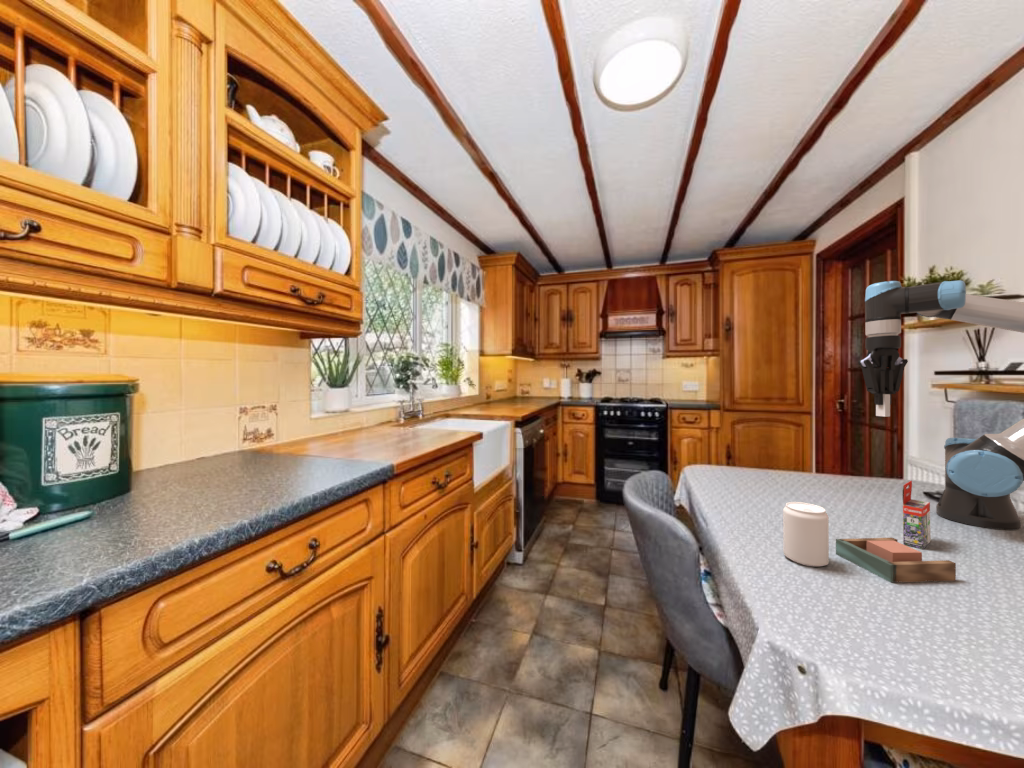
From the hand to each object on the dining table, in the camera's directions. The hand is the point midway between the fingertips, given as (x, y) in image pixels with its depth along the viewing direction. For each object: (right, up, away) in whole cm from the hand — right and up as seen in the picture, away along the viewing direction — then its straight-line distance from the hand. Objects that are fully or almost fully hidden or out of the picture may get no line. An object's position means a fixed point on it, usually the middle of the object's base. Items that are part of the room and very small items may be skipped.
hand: (882, 416), depth 112 cm
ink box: (-9, -30, -18) cm, 36 cm away
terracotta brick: (-26, -30, -29) cm, 50 cm away
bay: (-27, -30, -29) cm, 50 cm away
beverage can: (-43, -31, -26) cm, 59 cm away
